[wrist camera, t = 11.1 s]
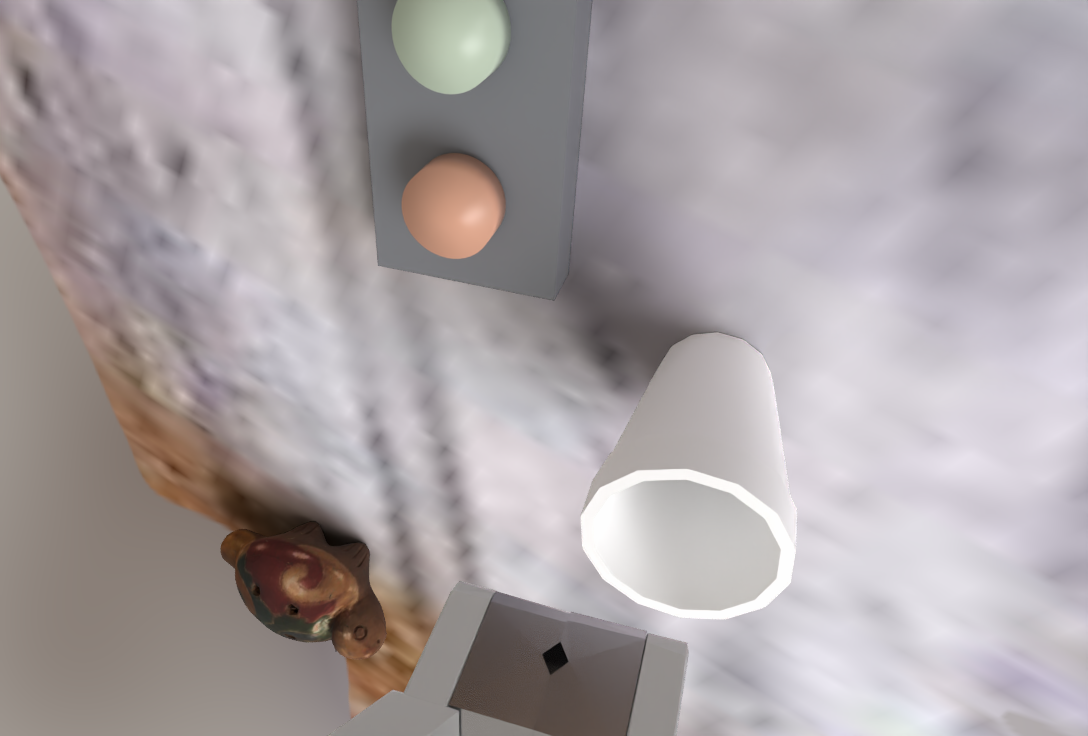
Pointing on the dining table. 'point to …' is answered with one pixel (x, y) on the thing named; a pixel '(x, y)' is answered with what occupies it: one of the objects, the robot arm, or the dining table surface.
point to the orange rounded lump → (453, 205)
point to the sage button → (451, 41)
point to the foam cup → (697, 488)
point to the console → (485, 143)
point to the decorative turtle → (308, 588)
